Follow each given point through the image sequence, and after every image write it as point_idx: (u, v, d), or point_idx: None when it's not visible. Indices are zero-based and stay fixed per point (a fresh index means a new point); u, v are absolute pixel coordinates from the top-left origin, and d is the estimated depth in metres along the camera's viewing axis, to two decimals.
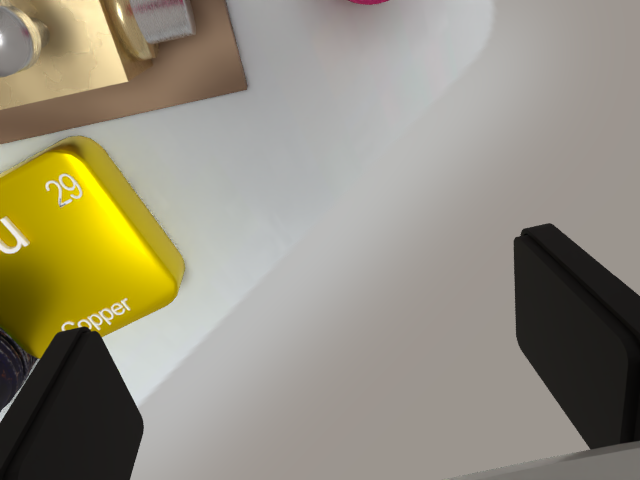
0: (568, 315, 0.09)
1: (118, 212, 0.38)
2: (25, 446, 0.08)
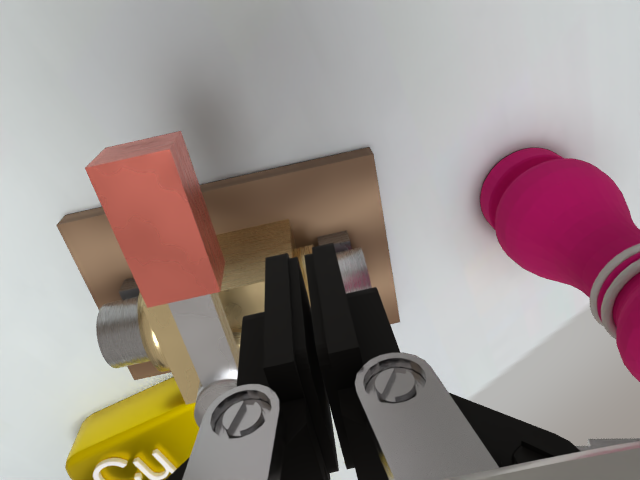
0: None
1: None
2: (299, 335, 0.09)
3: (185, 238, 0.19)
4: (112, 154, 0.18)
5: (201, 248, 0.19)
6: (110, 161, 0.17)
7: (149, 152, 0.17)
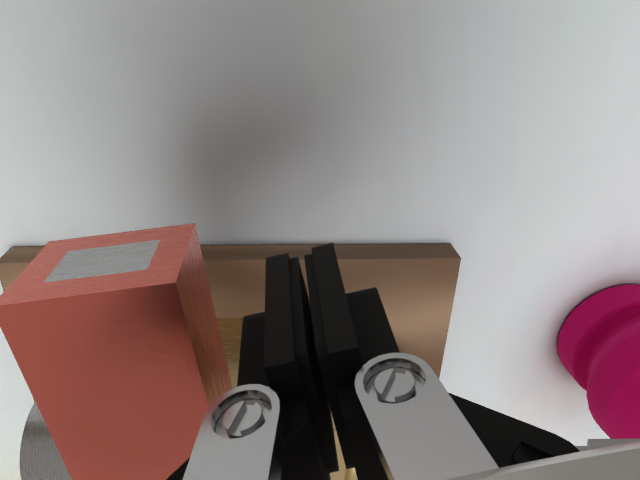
0: None
1: None
2: (299, 335, 0.09)
3: (185, 435, 0.10)
4: (57, 269, 0.09)
5: None
6: (48, 295, 0.08)
7: (132, 283, 0.08)
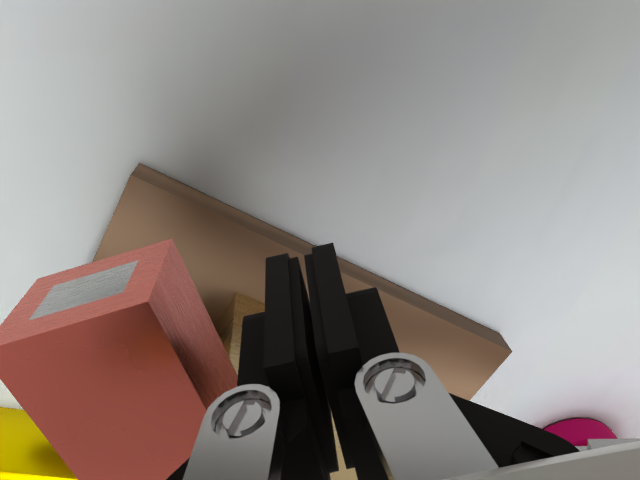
0: None
1: None
2: (299, 335, 0.09)
3: None
4: (41, 305, 0.09)
5: None
6: (30, 333, 0.08)
7: (108, 309, 0.08)
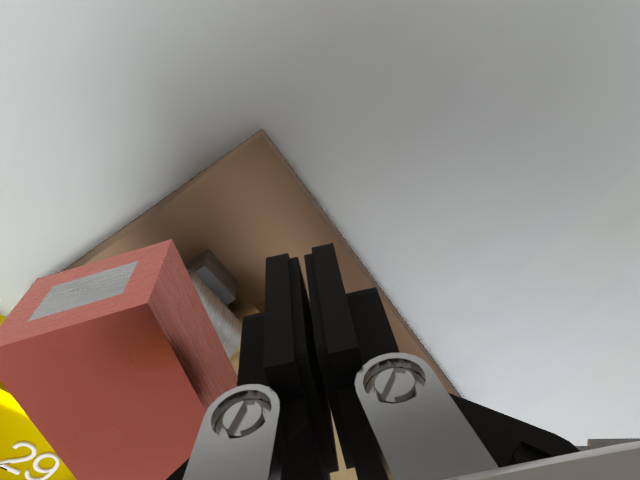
0: None
1: None
2: (299, 335, 0.09)
3: None
4: (41, 306, 0.09)
5: None
6: (30, 334, 0.08)
7: (107, 310, 0.08)
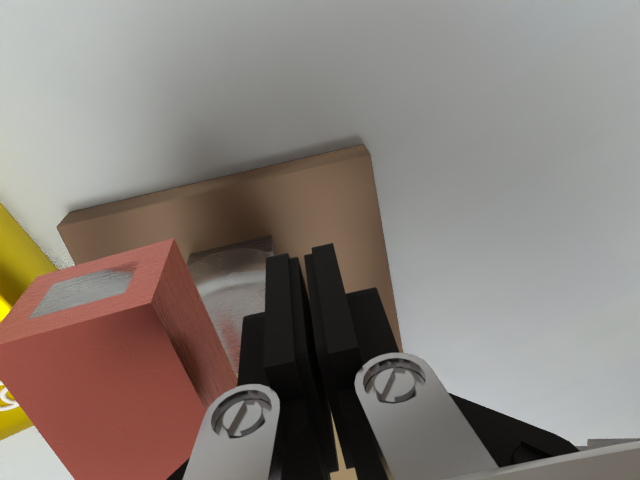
0: None
1: None
2: (299, 335, 0.09)
3: None
4: (41, 304, 0.09)
5: None
6: (30, 332, 0.08)
7: (109, 309, 0.08)
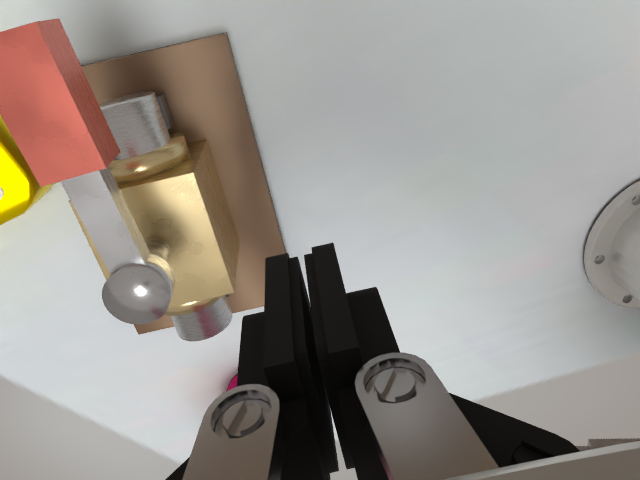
0: None
1: None
2: (299, 335, 0.09)
3: (64, 113, 0.20)
4: None
5: (81, 123, 0.21)
6: None
7: (18, 27, 0.19)
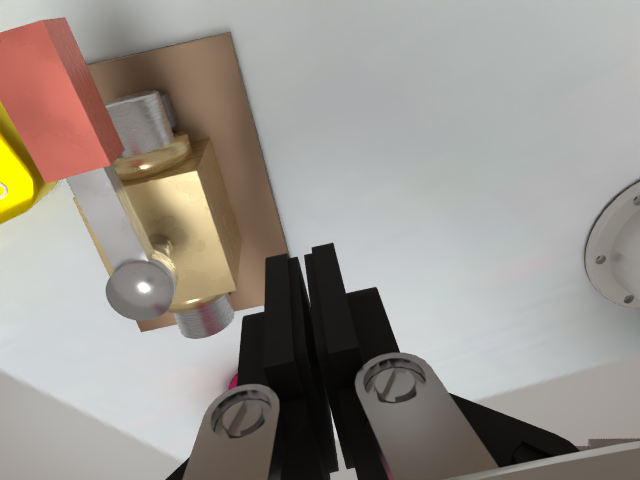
0: None
1: None
2: (299, 335, 0.09)
3: (70, 111, 0.21)
4: None
5: (86, 120, 0.21)
6: None
7: (25, 25, 0.19)
